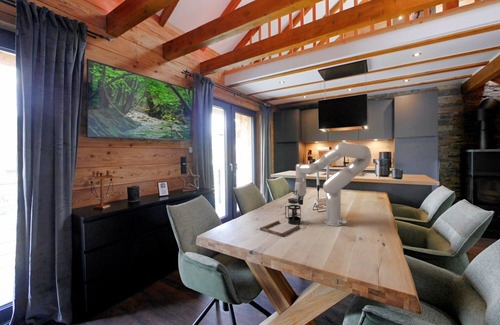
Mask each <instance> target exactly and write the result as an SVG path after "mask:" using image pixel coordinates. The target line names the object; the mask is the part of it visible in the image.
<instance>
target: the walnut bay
mask: <svg viewBox="0 0 500 325" xmlns="http://www.w3.org/2000/svg"><path fill="white" fill-rule="evenodd" d="M280 222H281V221H280V220H275V221H274V222H271V223H268V224H266V225H264V226H261V227H259V231H260V232H261V231H262V232H263V233H264V232H265V233H268V234H272V235H275V236H278V237H281V238H284V237H286V236H288V235H289V234H291V233H293V232H295V231H297V230H299V229H301V228H300V225H295V226H293V227H292V228H289V229H288V230H285V231H283V232H279V231H275V230H272V229H269V228H271V227H274V226H276V225H279V224H280Z"/></svg>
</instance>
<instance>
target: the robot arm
mask: <svg viewBox="0 0 500 325" xmlns="http://www.w3.org/2000/svg"><path fill="white" fill-rule="evenodd" d="M370 149H371V148H369V147H368V146H366V145H364V144H363V145H362V144H356V143H355V144H354V143H346V142H339V143H337V144H336V145H335V146H334V147H333V148H330V150H328V151H327V152H325V153H323V155H322V156H321V157H320V158H319V159H317V160H316V161H314V162H312V163H310V164H309V163H308V164H305V163H297V164H296V165H295V182H294V183H295V184H294V190H293V191H297V192H295V194H293V196H296V197H295V198H298V199H300V201H299V202H298V203H297V205H299V206H302V205H304V197H305V196H306V194H307V175H314V174H316V173H318V172H320V171H322V170H324V168H326V167H328V166H330V165H333V164H334V163H335V162H337V161H339V160H340V159H342V158H344V157H346V158H353V159H354V160H353V161H351V162H350V163H349V164H347V166H346V167H344V168H341V169H340V170H338V171H337V172H336V173H334V174H333V175H332V176H330V177H329V178H328V179H326V180H325V181H324V183H323V185H322V188H323V191H324V193H325V214H326V215H325V218H326V219H324V220H323V223H324V224H325V225H327V226H331V227H341V226H343V225H344V224H347V223H348V220H346V219H343V217H342V214H341V213H342V212H341V211H342V210H341V207H342V206H341V204H342V203H341V196H342V193H341V192H342V189H343V188H344V187H345V186H347V185H348V184H350V183H351V182H352V180H353V179H355V178H356V177H357V176H358V175H361V173H362V172H363V171H365V169H367V168H368V167H369V165H370V163H371V161H372V153H371V150H370Z"/></svg>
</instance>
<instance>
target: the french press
mask: <svg viewBox="0 0 500 325" xmlns="http://www.w3.org/2000/svg"><path fill="white" fill-rule="evenodd" d="M290 192H291V193H292V194H293V195H294V194H295V192H297V191H294V190H291V191H290ZM287 201H288V204H289V205H285V207H284V208H285V209H284V211H285V215H284V216H285V217H284V218H285V219H287V220H288V221H287V224H289V225H291V226H300V225H301V224H302V205H299V204H298V202H299V201H300V199H298V198H296V197H292V198H287ZM290 210H291V212H290ZM298 210H299V212H298Z"/></svg>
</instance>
